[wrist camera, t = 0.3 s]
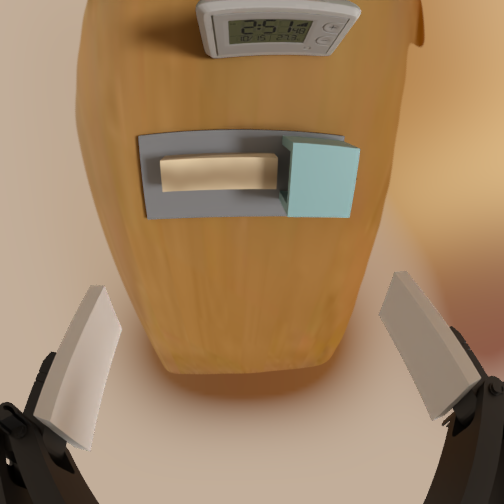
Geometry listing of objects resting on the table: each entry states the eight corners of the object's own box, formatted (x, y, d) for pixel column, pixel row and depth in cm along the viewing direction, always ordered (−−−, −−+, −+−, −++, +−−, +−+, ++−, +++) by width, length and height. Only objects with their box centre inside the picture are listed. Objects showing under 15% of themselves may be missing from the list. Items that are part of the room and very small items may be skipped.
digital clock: (200, 59, 26) (187, 41, 17) (209, 0, 22) (203, -34, 13) (327, 76, 28) (364, 71, 19) (334, 20, 24) (371, -1, 15)
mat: (139, 135, 31) (138, 136, 30) (342, 135, 33) (344, 136, 32) (148, 217, 37) (147, 219, 36) (332, 214, 39) (333, 216, 39)
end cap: (282, 135, 32) (293, 142, 27) (340, 140, 33) (360, 148, 28) (278, 198, 37) (287, 216, 31) (333, 200, 37) (349, 217, 32)
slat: (165, 155, 32) (159, 160, 29) (274, 153, 33) (278, 157, 31) (167, 184, 34) (162, 191, 32) (272, 182, 35) (276, 189, 33)
